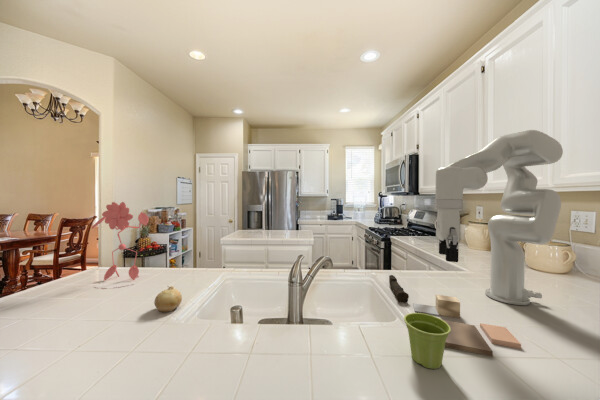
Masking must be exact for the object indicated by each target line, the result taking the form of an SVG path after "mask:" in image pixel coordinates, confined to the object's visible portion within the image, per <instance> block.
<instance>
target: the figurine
mask: <svg viewBox="0 0 600 400" xmlns="http://www.w3.org/2000/svg"><path fill="white" fill-rule="evenodd" d="M105 208H106V210H105V211H103V212H102V213H101V216H102V217H101V218H99V219H98V220H97V221H96V222H95V223H94V224H93V225H92V227H91V229H94V228H96V227H97V226H99V225H100V224H101V223H103V222H104V223H105V224H106V225H107V224H108V226H109V229H110V230H114V229H115V230H117V231H118V230H119V231H118V232H117V237H118V240H119V243H120V244H119V245H118V247H117V248H116V249H114V250H112V252H111V254H112V255H111V257H112V265H111V266H110V267H109V268H108V270H106V272H105V274H104V277H103V280H104V281H106V280H108V279H109V278H111V277H112V276H113V275H114V274H115V273H116V276H117V277H120V274H119V273H118V270H117V269H118V266H117V264H114V263H115V261H114V252H116V251H117V250H120V251H124V250H128V251H131V252H134V253H135V258H134V261H133V265H132V266H130V267H129V270H128V276H129V277H130V279H131V280H133V281H135V280H136V278H139V272H140V270H139V267H138V265H136V261H137V255H138V251H135V250H132V249H130V248H127V245H126V244H125V243H122V240H121V237H120V233H122V232H123V231H124V230H126V229H128V228H134V229H141V225H143V226H146V227H147V226H148V223H149V220H150V219H149V216H148V214H146V212H140V213H139V214H138V217H137V220H138V222H139V225H138V226H134V225H133V226H131V225H130V222H129V221H130V220H132V219H133V218H134V215H133V214H131V213H130V207H127V205H126V202H125V201H122V202H120V203H119V204H118V203H117V202H115V201H112V202H111V204H106V207H105ZM133 285H135V284H134V283H132V284H131V286H133ZM128 286H130V285H129V284H128V285H127V287H128ZM124 287H125V285H124V286H116V287H114V289H119V288H124ZM94 288H95V289H97V287H96V286H94ZM105 289H106V287H102V290H105Z"/></svg>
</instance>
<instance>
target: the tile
mask: <svg viewBox="0 0 600 400" xmlns="http://www.w3.org/2000/svg"><path fill="white" fill-rule="evenodd" d="M479 328H480V329H481V331H482V332H483V334H484V335H485V336H486V337H487V339H488V340H489V341H490V343H491V344H494V345H499V346H506V347H510V348H515V349H520V350H521V349H522V343H521V342H520V341H519V340H518V339H517V338H516V337H515V336H514V335H513V333H511V331H510V330H509V329H508V328H507V327H506V326H499V325H495V324H494V325H493V324H489V323H488V324H487V323H480V322H479Z"/></svg>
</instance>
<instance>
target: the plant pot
mask: <svg viewBox="0 0 600 400" xmlns="http://www.w3.org/2000/svg"><path fill="white" fill-rule="evenodd" d="M443 320H444V319H441V318H440V317H438V316H435V315H429V314H423V313H417V312H411V313H407V314H405V315H404V317H403V321H404V323H405V324H406V328H407V332H408V337H409V338H408V339H409V345H410V355H411V358H412V359H413V361H414V362H415V363H416V364H420V365H421V366H423V367H424V368H427V369H431V370H433V369H435V370H436V369H439V368H440V367H441V366H442V364H443V359H444V353H445V352H444V351H445V348H446V347H445V342H446V339H447V337H448V334H449V333H450V331H451V328H450V326H449V325H448V324H447V323H446V322H445V321H446V320H445V321H443Z"/></svg>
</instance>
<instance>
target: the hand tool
mask: <svg viewBox="0 0 600 400" xmlns="http://www.w3.org/2000/svg"><path fill="white" fill-rule="evenodd" d="M388 277H389V279H388V280H389V282H388V283H389V287H390V289H391V290H392V291H393V293H394V295H395V297H396V301H397V302H398V303H402V302H404V304H405V303H408V301H409V297H410V296H409V294H408V293H407V292H406V291H404V288H403V287H402V286H401V285H400V284H399V282H398V280H397V277H396V276H395V275H393V274H391V275H390V274H389V275H388Z"/></svg>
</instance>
